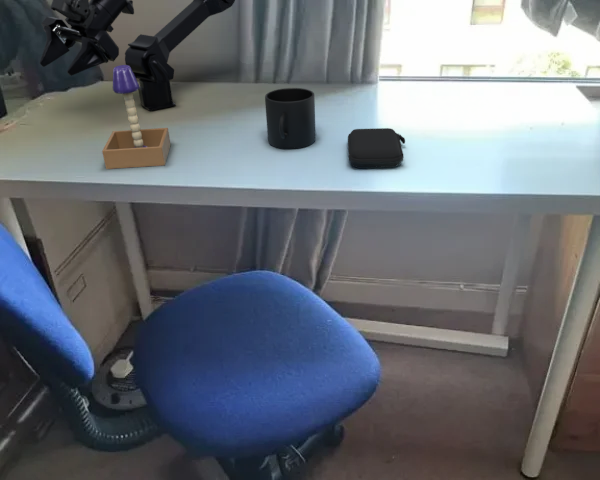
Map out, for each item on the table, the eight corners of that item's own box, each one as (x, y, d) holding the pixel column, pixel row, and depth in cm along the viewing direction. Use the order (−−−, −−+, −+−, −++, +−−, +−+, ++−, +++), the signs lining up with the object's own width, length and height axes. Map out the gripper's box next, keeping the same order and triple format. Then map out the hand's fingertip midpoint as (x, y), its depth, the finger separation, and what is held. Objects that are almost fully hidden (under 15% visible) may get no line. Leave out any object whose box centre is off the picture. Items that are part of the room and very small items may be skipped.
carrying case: (409, 170, 109) (402, 140, 121) (410, 153, 107) (403, 125, 119) (348, 171, 110) (347, 141, 122) (348, 154, 108) (347, 126, 120)
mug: (258, 153, 119) (254, 105, 113) (275, 131, 128) (272, 86, 123) (306, 155, 117) (304, 107, 111) (320, 133, 126) (319, 88, 121)
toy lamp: (146, 161, 117) (129, 70, 108) (123, 160, 118) (104, 70, 109) (155, 152, 121) (139, 63, 112) (133, 151, 122) (115, 63, 113)
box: (116, 148, 124) (112, 131, 122) (170, 144, 124) (168, 127, 122) (106, 169, 115) (102, 151, 113) (165, 165, 115) (161, 147, 113)
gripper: (48, -27, 125) (-1, 30, 122) (106, -16, 116) (55, 46, 113) (82, 17, 135) (38, 71, 132) (139, 31, 126) (93, 90, 122)
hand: (54, 69), depth 124 cm, fingers open, 9 cm apart
